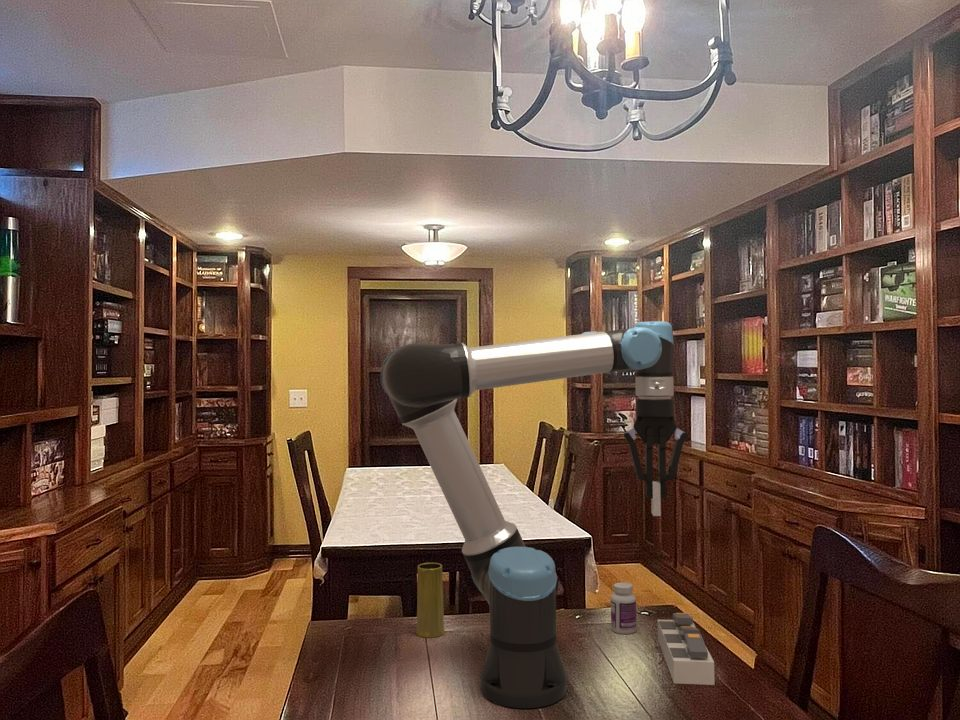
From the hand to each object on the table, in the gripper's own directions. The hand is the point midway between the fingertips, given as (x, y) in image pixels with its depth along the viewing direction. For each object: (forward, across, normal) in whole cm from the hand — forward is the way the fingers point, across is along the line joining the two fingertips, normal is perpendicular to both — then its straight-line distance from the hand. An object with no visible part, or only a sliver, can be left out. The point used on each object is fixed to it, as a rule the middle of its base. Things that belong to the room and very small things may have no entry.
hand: (656, 514), depth 145 cm
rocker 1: (+21, +5, 0) cm, 21 cm away
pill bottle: (+27, -6, +8) cm, 28 cm away
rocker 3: (+21, +5, -14) cm, 26 cm away
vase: (+27, -47, +3) cm, 54 cm away
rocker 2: (+21, +5, -7) cm, 23 cm away
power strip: (+26, +4, -7) cm, 28 cm away
